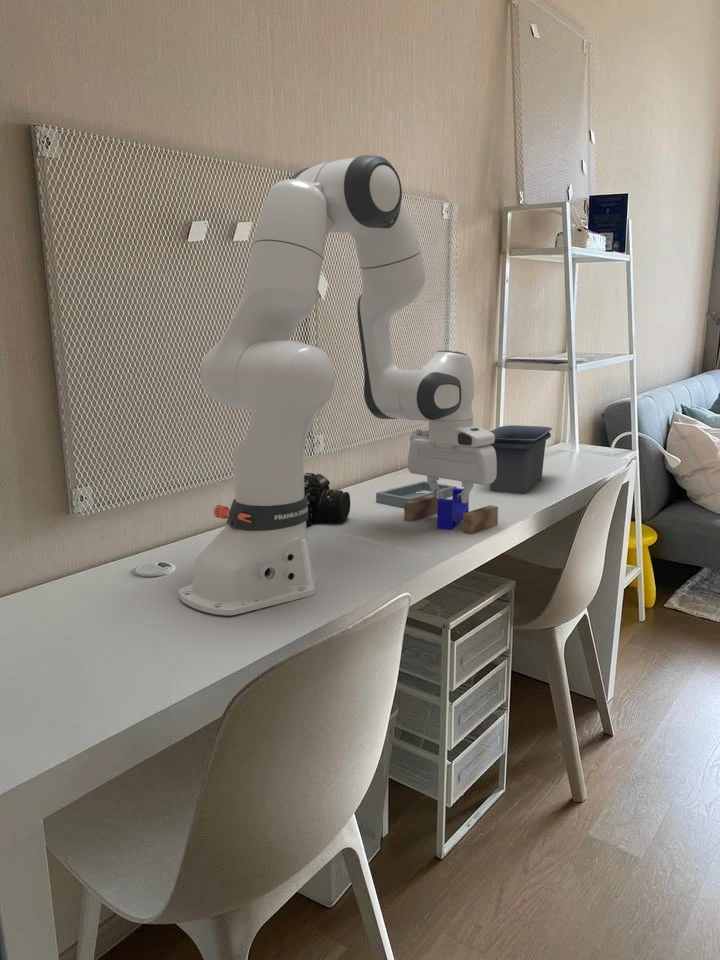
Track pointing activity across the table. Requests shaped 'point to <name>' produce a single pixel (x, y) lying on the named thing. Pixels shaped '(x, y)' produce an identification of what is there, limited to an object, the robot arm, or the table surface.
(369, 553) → the table surface
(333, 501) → the film camera
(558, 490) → the table surface
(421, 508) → the far walnut block
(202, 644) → the table surface
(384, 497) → the slate tray
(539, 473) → the storage bin
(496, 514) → the near walnut block
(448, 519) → the blue curved block
